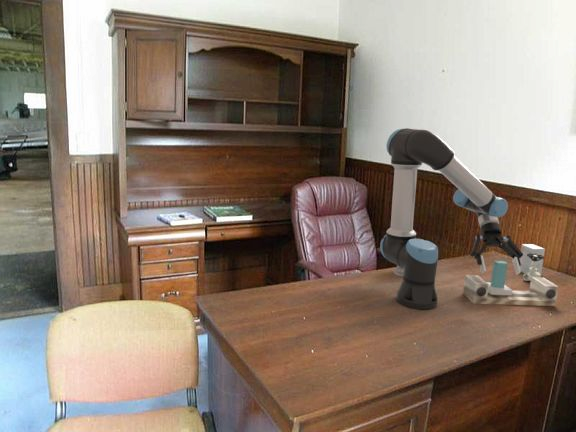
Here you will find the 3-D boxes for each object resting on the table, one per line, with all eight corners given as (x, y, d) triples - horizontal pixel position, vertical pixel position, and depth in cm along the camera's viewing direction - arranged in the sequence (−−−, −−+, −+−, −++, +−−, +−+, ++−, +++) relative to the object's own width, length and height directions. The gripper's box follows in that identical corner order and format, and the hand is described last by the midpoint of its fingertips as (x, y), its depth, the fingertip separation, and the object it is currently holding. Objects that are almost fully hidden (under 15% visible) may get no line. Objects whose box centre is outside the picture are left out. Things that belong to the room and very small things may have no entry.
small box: (541, 275, 211) (545, 248, 208) (529, 276, 209) (534, 249, 206) (528, 269, 218) (532, 243, 216) (517, 270, 217) (521, 244, 214)
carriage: (490, 296, 175) (495, 264, 173) (481, 288, 183) (486, 258, 180) (511, 297, 176) (516, 265, 173) (501, 289, 183) (506, 259, 181)
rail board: (473, 303, 174) (476, 284, 173) (462, 293, 185) (465, 274, 183) (555, 306, 175) (559, 287, 173) (540, 296, 185) (543, 277, 184)
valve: (519, 278, 205) (523, 253, 202) (531, 277, 207) (535, 252, 204) (531, 284, 199) (535, 257, 196) (543, 283, 201) (547, 257, 198)
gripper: (515, 231, 192) (528, 277, 180) (456, 229, 191) (465, 275, 180) (523, 222, 185) (537, 269, 174) (463, 220, 185) (473, 267, 173)
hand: (501, 272), depth 177 cm, fingers open, 13 cm apart
